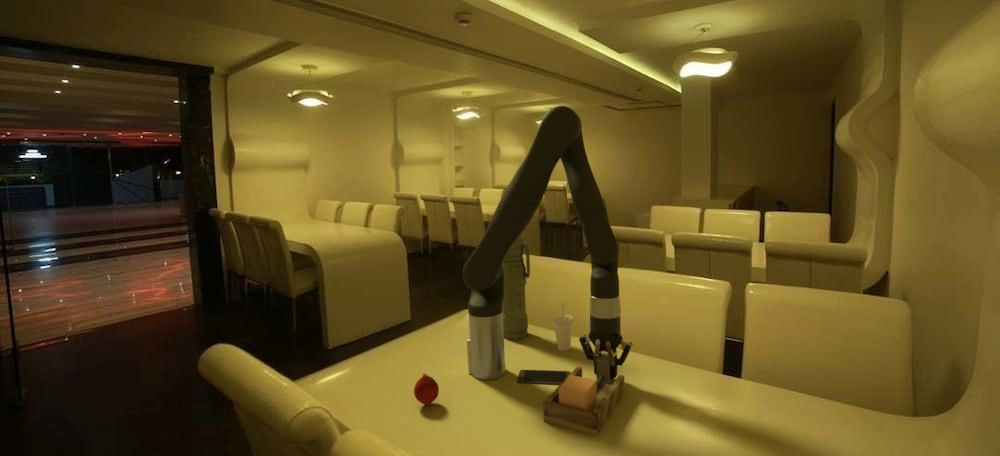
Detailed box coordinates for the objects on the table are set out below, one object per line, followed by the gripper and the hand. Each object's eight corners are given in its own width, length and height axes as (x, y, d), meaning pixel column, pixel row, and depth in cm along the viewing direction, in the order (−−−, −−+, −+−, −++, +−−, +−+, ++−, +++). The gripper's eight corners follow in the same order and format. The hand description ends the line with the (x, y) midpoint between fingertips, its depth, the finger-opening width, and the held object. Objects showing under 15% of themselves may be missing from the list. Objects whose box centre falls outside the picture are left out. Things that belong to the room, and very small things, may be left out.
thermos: (500, 329, 158) (495, 229, 153) (534, 331, 155) (530, 228, 150) (494, 339, 149) (489, 233, 144) (529, 341, 146) (526, 233, 142)
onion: (443, 400, 112) (441, 369, 110) (432, 412, 106) (430, 380, 105) (422, 397, 113) (420, 366, 112) (410, 409, 108) (408, 377, 107)
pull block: (585, 426, 97) (585, 394, 96) (559, 419, 100) (558, 388, 99) (620, 377, 118) (620, 350, 117) (597, 372, 121) (597, 347, 120)
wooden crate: (596, 436, 94) (596, 416, 94) (543, 421, 100) (543, 402, 100) (624, 393, 111) (624, 375, 110) (577, 383, 117) (577, 366, 117)
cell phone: (520, 371, 126) (520, 369, 126) (571, 373, 123) (571, 371, 123) (516, 384, 119) (516, 381, 119) (570, 386, 116) (570, 384, 116)
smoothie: (573, 344, 142) (572, 300, 140) (575, 352, 136) (574, 307, 134) (553, 344, 143) (551, 300, 141) (553, 352, 137) (552, 307, 135)
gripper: (573, 313, 116) (574, 377, 118) (628, 320, 108) (629, 389, 111) (583, 304, 122) (585, 366, 124) (637, 311, 115) (637, 376, 117)
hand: (605, 376), depth 117 cm, fingers closed on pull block, 3 cm apart
